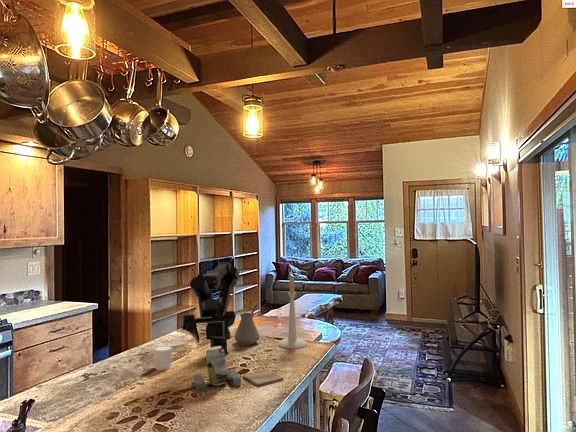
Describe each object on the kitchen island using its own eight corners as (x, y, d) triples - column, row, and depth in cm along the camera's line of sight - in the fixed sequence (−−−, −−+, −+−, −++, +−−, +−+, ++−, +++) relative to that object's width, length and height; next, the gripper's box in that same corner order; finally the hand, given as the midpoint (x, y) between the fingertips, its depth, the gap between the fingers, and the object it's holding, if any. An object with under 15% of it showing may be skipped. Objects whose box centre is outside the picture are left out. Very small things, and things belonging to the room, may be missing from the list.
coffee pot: (255, 347, 173) (254, 312, 174) (230, 345, 176) (230, 311, 176) (268, 334, 194) (268, 304, 195) (246, 333, 196) (246, 303, 197)
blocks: (193, 382, 132) (193, 374, 132) (233, 376, 137) (233, 369, 137) (198, 392, 124) (198, 384, 124) (240, 385, 129) (240, 377, 129)
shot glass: (176, 365, 150) (176, 346, 150) (163, 371, 143) (163, 351, 144) (162, 363, 152) (162, 344, 153) (149, 368, 146) (149, 349, 147)
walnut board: (243, 377, 136) (243, 375, 136) (267, 371, 142) (267, 369, 142) (258, 386, 128) (257, 384, 128) (283, 379, 134) (283, 377, 134)
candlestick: (301, 350, 168) (300, 278, 169) (273, 347, 172) (273, 278, 174) (310, 342, 180) (309, 275, 181) (284, 339, 184) (283, 275, 186)
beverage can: (224, 388, 127) (223, 350, 127) (202, 386, 128) (202, 349, 129) (230, 381, 133) (230, 345, 133) (210, 379, 134) (210, 344, 135)
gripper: (182, 292, 140) (187, 330, 129) (234, 288, 147) (242, 325, 136) (180, 310, 147) (183, 348, 136) (229, 306, 154) (236, 342, 143)
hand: (212, 340), depth 137 cm, fingers open, 9 cm apart
